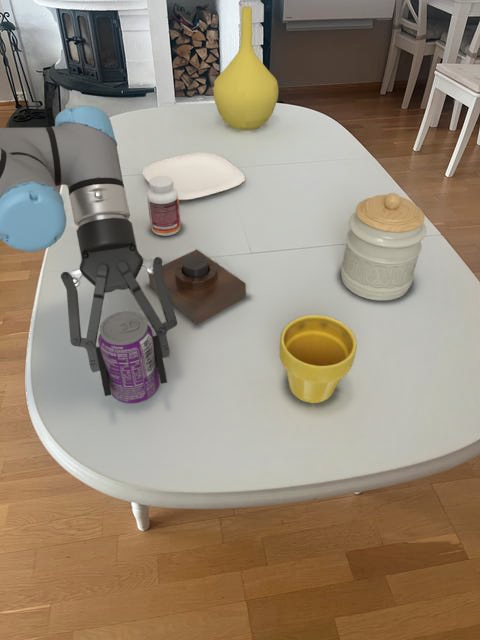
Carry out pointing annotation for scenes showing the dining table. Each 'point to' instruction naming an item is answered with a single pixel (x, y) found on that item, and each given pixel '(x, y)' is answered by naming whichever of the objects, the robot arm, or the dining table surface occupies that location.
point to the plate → (197, 174)
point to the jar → (383, 247)
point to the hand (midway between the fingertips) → (136, 388)
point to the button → (195, 266)
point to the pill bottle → (163, 206)
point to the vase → (245, 85)
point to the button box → (201, 289)
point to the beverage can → (129, 356)
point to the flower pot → (316, 355)
